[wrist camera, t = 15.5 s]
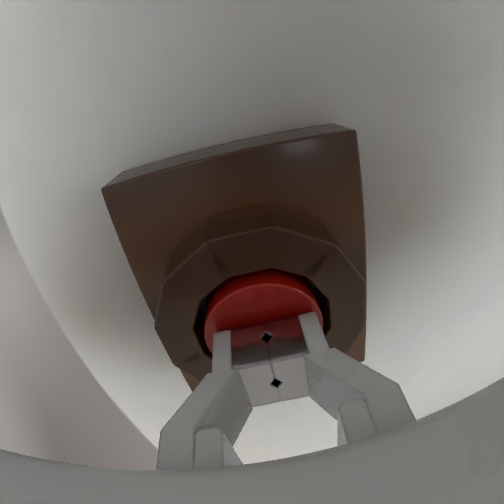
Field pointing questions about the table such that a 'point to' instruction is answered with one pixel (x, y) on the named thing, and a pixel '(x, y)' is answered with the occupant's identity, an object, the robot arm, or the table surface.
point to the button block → (246, 231)
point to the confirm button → (257, 301)
